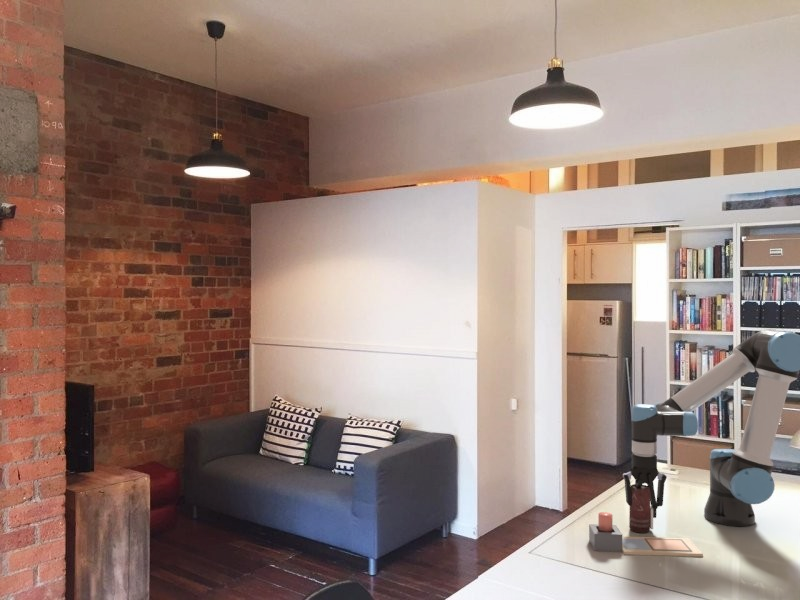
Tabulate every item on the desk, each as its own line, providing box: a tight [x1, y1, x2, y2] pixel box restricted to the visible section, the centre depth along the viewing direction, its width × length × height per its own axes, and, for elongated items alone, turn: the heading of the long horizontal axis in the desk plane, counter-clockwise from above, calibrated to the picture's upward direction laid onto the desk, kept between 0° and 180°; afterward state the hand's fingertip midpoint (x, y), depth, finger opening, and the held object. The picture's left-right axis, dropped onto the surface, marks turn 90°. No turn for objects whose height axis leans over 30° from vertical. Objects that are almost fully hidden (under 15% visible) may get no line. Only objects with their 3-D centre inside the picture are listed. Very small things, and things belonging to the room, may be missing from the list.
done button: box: [597, 511, 613, 532], centre depth 199 cm, size 4×4×4 cm
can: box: [628, 483, 651, 534], centre depth 211 cm, size 6×6×14 cm
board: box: [622, 536, 704, 558], centre depth 197 cm, size 22×12×1 cm, turn 85°
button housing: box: [588, 523, 623, 553], centre depth 199 cm, size 8×8×5 cm
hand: (644, 527), depth 211 cm, fingers open, 3 cm apart
